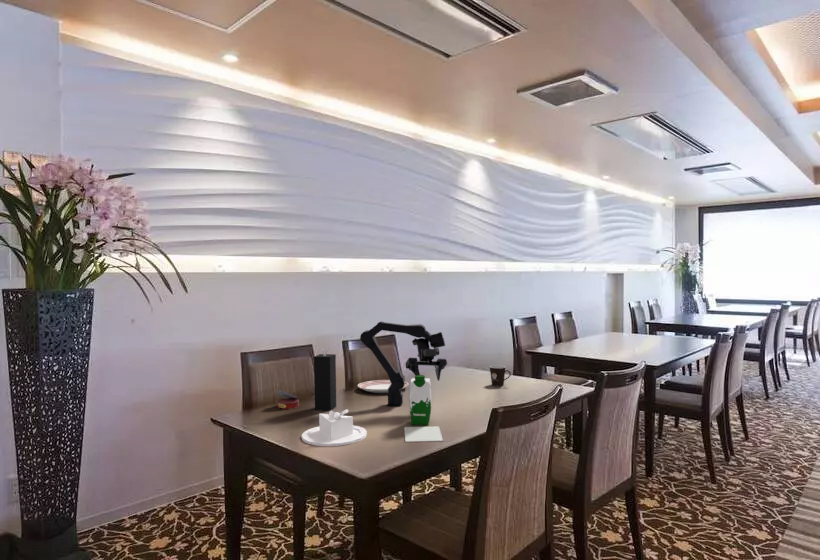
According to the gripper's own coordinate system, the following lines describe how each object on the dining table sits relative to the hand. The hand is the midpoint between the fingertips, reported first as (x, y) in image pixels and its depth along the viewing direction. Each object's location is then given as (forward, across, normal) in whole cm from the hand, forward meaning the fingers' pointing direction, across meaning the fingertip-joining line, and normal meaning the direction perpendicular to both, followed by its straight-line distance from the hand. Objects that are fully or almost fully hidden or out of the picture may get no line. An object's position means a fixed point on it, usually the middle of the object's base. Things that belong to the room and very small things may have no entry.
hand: (429, 380), depth 241 cm
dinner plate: (-20, -6, +49) cm, 53 cm away
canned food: (-4, -58, +38) cm, 69 cm away
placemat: (+32, -14, -15) cm, 37 cm away
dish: (+28, -46, -4) cm, 54 cm away
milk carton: (+22, -9, -3) cm, 24 cm away
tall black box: (+1, -42, +29) cm, 51 cm away
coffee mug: (-15, +56, +34) cm, 67 cm away
